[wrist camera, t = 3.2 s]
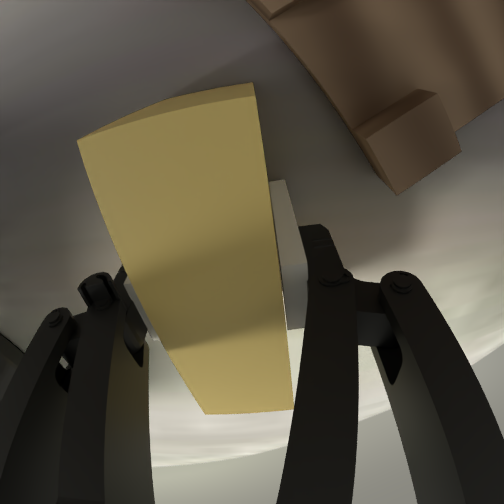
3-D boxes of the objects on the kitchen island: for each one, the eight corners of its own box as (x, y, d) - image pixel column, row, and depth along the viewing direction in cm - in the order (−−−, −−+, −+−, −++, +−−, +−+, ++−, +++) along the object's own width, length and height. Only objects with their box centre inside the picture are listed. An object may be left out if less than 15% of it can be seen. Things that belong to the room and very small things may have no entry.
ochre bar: (281, 290, 19) (294, 409, 12) (217, 298, 19) (205, 414, 12) (252, 82, 12) (255, 95, 5) (165, 99, 12) (76, 140, 6)
